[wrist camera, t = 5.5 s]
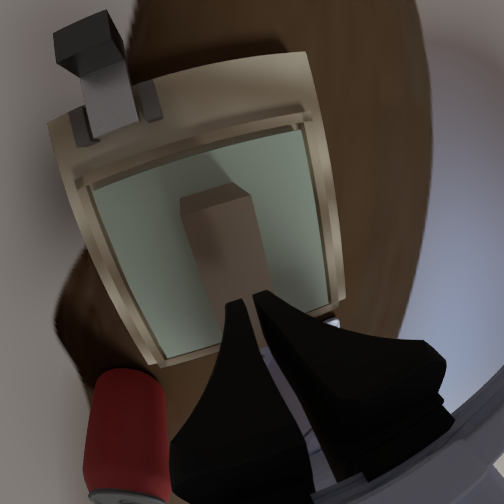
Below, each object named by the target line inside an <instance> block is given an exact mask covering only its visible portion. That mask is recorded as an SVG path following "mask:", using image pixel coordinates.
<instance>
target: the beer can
mask: <svg viewBox="0 0 504 504" xmlns="http://www.w3.org/2000/svg"><path fill="white" fill-rule="evenodd" d="M83 475H84V480H85V482H86V485H87V488H88V490H89V495H88V497H89V499H90V500H91V501H92V502H93V503H95V504H167V503H168V500H169V497H170V493H171V490H172V488H171V482H170V474H169V445H168V433H167V419H166V401H165V393H164V390H163V388H162V386H161V385H160V384H159V383H158V382H157V380H155V379H154V378H152V377H151V376H149V375H148V374H146V373H144V372H141V371H139V370H136V369H130V368H115V369H112V370H109V371H106V372H104V373H103V374H102V375H101V376H99V377H98V379H97V382H96V384H95V388H94V394H93V399H92V404H91V410H90V416H89V422H88V429H87V435H86V443H85V451H84V460H83Z"/></svg>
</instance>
